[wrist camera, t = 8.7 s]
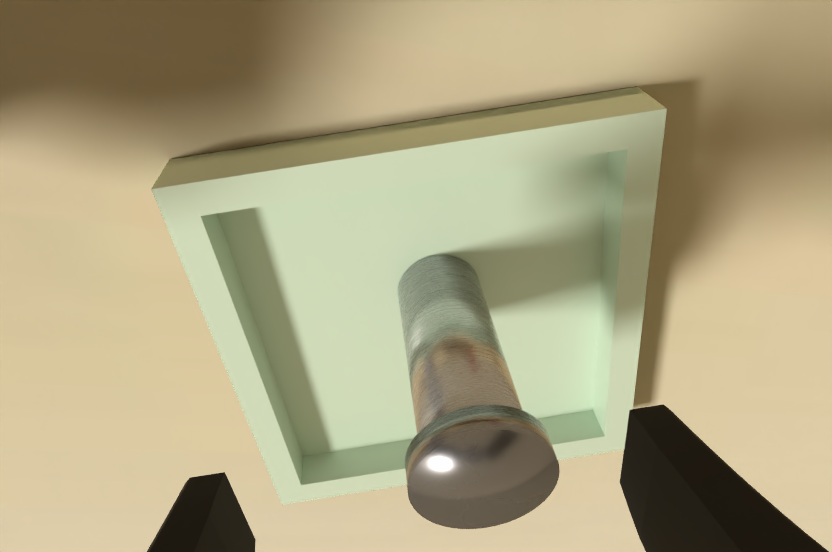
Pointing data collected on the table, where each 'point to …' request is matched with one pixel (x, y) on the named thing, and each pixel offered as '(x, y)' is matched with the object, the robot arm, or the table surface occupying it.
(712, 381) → the table surface
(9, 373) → the table surface
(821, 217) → the table surface
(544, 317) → the tray
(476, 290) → the pin
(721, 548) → the robot arm
